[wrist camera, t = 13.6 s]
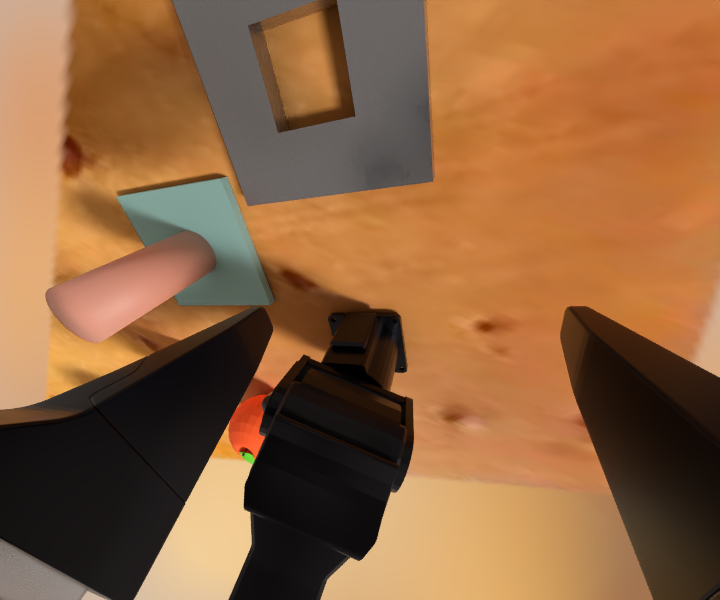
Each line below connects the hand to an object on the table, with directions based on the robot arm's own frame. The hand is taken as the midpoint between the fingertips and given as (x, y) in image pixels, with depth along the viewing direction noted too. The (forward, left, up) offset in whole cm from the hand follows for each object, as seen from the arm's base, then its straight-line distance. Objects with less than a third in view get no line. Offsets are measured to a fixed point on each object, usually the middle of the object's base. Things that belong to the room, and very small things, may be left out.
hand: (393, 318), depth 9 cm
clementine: (-23, +20, -13) cm, 33 cm away
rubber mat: (-2, +20, -13) cm, 24 cm away
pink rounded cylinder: (-2, +20, -12) cm, 23 cm away
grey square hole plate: (+8, +6, -13) cm, 16 cm away
